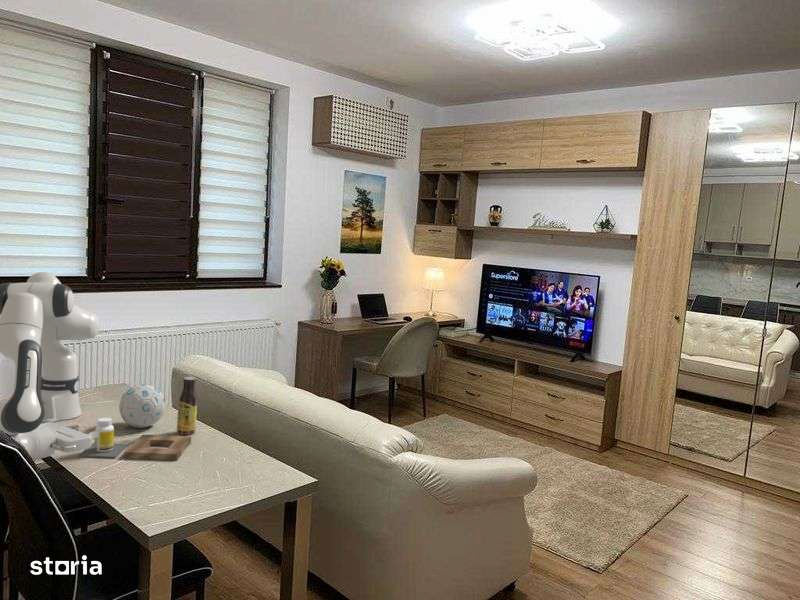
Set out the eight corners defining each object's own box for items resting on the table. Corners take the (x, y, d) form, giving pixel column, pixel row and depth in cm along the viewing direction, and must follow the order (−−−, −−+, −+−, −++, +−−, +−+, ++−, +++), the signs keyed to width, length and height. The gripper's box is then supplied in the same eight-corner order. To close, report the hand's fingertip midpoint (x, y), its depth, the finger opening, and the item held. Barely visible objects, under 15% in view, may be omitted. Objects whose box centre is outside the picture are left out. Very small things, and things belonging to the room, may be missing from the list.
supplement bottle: (117, 448, 195) (118, 418, 194) (104, 453, 190) (105, 423, 188) (103, 445, 196) (103, 415, 195) (90, 450, 191) (91, 420, 190)
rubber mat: (78, 457, 187) (78, 455, 187) (93, 444, 198) (93, 442, 198) (115, 458, 188) (115, 456, 188) (128, 445, 199) (128, 444, 199)
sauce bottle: (172, 433, 213) (174, 377, 211) (186, 428, 218) (188, 374, 216) (186, 437, 210) (188, 381, 208) (200, 432, 215) (202, 377, 213)
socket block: (124, 458, 189) (124, 452, 188) (142, 440, 204) (142, 434, 204) (177, 460, 190) (177, 454, 190) (191, 442, 206) (191, 436, 205)
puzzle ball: (160, 417, 228) (161, 378, 227) (168, 430, 216) (169, 389, 214) (116, 422, 220) (116, 381, 219) (121, 435, 208) (122, 392, 206)
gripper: (63, 439, 169) (108, 427, 181) (21, 424, 179) (67, 413, 191) (63, 461, 170) (108, 448, 182) (21, 445, 180) (66, 433, 192)
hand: (86, 430), depth 186 cm, fingers open, 8 cm apart
